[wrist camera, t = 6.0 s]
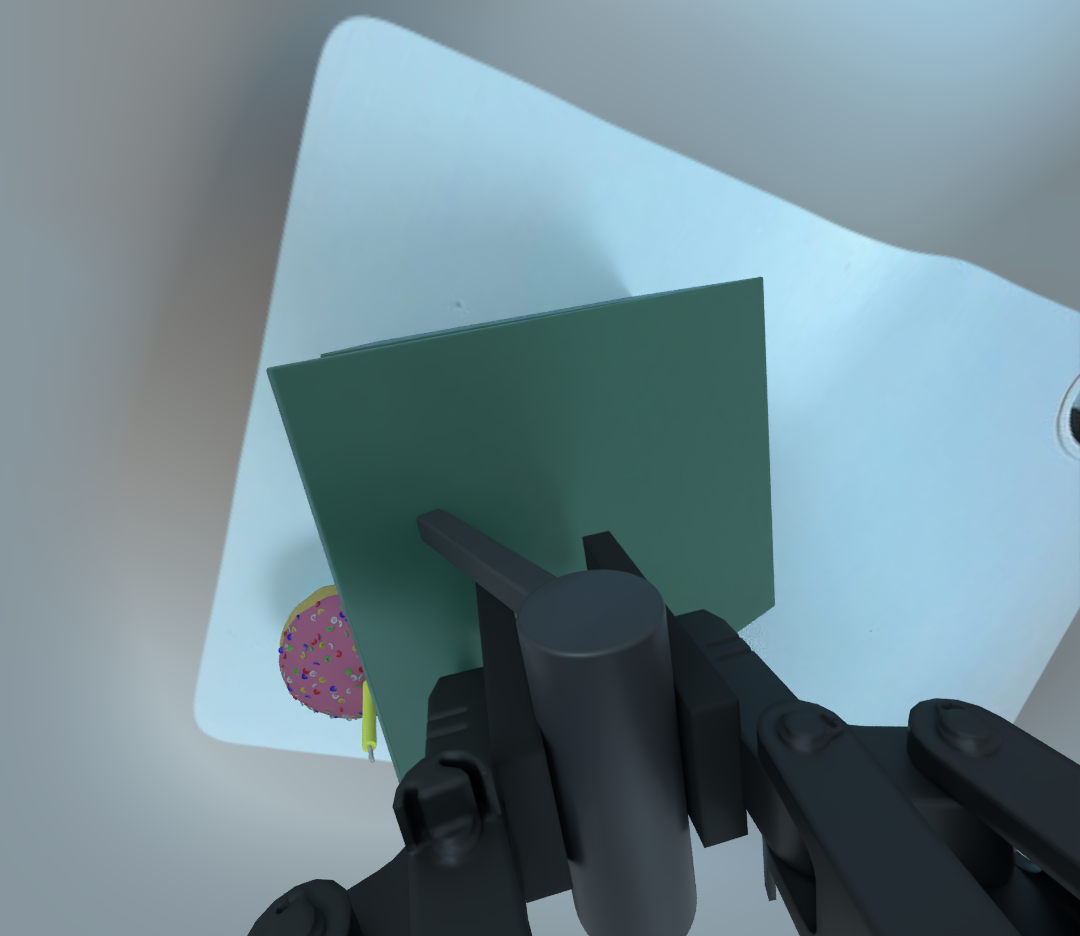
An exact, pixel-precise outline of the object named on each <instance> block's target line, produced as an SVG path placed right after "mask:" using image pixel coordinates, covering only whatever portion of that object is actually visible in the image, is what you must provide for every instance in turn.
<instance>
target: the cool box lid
mask: <svg viewBox="0 0 1080 936" xmlns="http://www.w3.org/2000/svg"><path fill="white" fill-rule="evenodd" d="M267 374H268V377H269V380H270V383H271V387H272V390H273V393H274V396H275V399H276V402H277V405H278V408H279V411H280V415H281V418H282V421H283V424H284V427H285V430H286V433H287V436H288V439H289V442H290V446H291V449H292V452H293V455H294V458H295V461H296V464H297V467H298V470H299V473H300V477H301V480H302V483H303V486H304V489H305V492H306V495H307V498H308V501H309V504H310V508H311V511H312V514H313V517H314V520H315V523H316V526H317V529H318V532H319V536H320V539H321V542H322V545H323V548H324V551H325V554H326V557H327V560H328V563H329V567H330V570H331V573H332V576H333V579H334V582H335V585H336V588H337V591H338V594H339V598H340V601H341V604H342V607H343V610H344V613H345V616H346V619H347V622H348V626H349V629H350V632H351V635H352V638H353V641H354V644H355V647H356V650H357V653H358V657H359V660H360V663H361V666H362V669H363V672H364V675H365V678H366V681H367V684H368V688H369V691H370V694H371V697H372V700H373V703H374V706H375V709H376V712H377V716H378V719H379V722H380V725H381V728H382V731H383V734H384V737H385V740H386V743H387V747H388V750H389V753H390V756H391V759H392V762H393V765H394V768H395V771H396V774H397V778H398V780H399V784H400V782H401V781H402V779H403V778H404V776H405V774H406V773H407V772H408V771H409V770H410V769H411V768H412V767H413V766H415V765H416V764H417V763H418V762H419V761H420V760H421V759H423V758H425V747H426V740H427V737H426V730H427V722H428V719H427V714H428V697H429V696H430V694H431V692H432V690H433V688H434V687H435V685H436V683H437V681H438V679H439V678H440V677H443V676H447V675H451V674H455V673H459V672H463V671H467V670H471V669H475V668H479V667H483V660H482V649H481V638H480V628H479V617H478V607H477V596H476V585H475V582H477V583H478V584H479V585H480V586H482V587H483V588H484V589H486V590H487V591H488V592H489V593H491V594H492V595H493V596H495V597H496V598H497V599H498V600H500V601H501V602H502V603H504V604H505V605H506V606H507V607H509V608H510V609H511V610H513V611H514V614H515V618H516V627H517V632H518V637H519V642H520V646H521V651H522V656H523V661H524V666H525V670H526V675H527V680H528V685H529V689H530V694H531V699H532V704H533V708H534V713H535V717H536V720H537V723H538V724H539V727H540V731H541V736H542V741H543V745H544V750H545V754H546V759H547V764H548V769H549V773H550V778H551V783H552V788H553V792H554V797H555V802H556V807H557V812H558V816H559V821H560V826H561V831H562V836H563V840H564V845H565V850H566V855H567V859H568V864H569V869H570V874H571V879H572V883H573V888H574V889H571V890H572V894H573V899H574V904H575V908H576V911H577V915H578V917H579V920H580V922H581V924H582V926H583V927H584V929H585V931H586V932H587V934H588V935H589V936H686V935H687V933H688V931H689V930H690V928H691V925H692V923H693V920H694V916H695V912H696V904H697V897H696V884H695V875H694V866H693V856H692V847H691V838H690V829H689V821H688V810H687V801H686V792H685V782H684V773H683V764H682V755H681V745H680V736H679V727H678V718H677V709H676V699H675V690H674V681H673V672H672V662H671V653H670V644H669V635H668V625H667V616H666V607H665V604H666V605H667V606H668V608H669V609H670V610H671V612H672V613H673V614H674V616H677V615H681V614H685V613H689V612H693V611H697V610H701V609H705V610H707V611H709V612H711V613H712V614H714V615H716V616H718V617H720V618H722V619H724V620H725V621H726V622H727V623H728V624H729V625H730V626H731V627H732V628H733V629H734V630H735V632H736V633H737V632H738V631H740V630H741V629H743V628H744V627H745V626H747V625H748V624H750V623H751V622H752V621H754V620H755V619H757V618H758V617H759V616H761V615H762V614H764V613H765V612H766V611H768V610H769V609H771V608H772V607H774V605H775V597H774V569H773V542H772V514H771V486H770V458H769V430H768V402H767V374H766V346H765V318H764V290H763V277H758V278H751V279H745V280H740V281H735V282H729V283H724V284H718V285H713V286H707V287H702V288H697V289H691V290H686V291H680V292H675V293H670V294H664V295H659V296H653V297H648V298H643V299H637V300H632V301H626V302H621V303H616V304H610V305H605V306H599V307H594V308H589V309H583V310H578V311H572V312H567V313H561V314H556V315H551V316H545V317H540V318H534V319H529V320H524V321H518V322H513V323H507V324H502V325H497V326H491V327H486V328H480V329H475V330H470V331H464V332H459V333H453V334H448V335H443V336H437V337H432V338H426V339H421V340H415V341H410V342H405V343H399V344H394V345H388V346H383V347H378V348H372V349H367V350H361V351H356V352H351V353H345V354H340V355H334V356H329V357H324V358H318V359H313V360H307V361H302V362H297V363H291V364H286V365H280V366H275V367H269V368H267ZM605 531H610V532H611V534H612V535H613V536H614V538H615V539H616V540H617V542H618V543H619V544H620V545H621V547H622V548H623V549H624V551H625V552H626V553H627V555H628V556H629V557H630V558H631V560H632V561H633V562H634V564H635V565H636V566H637V568H638V569H639V570H640V571H641V573H642V574H643V575H644V577H645V578H646V579H647V580H645V579H644V578H642V577H639V576H637V575H634V574H631V573H628V572H623V571H616V570H587V565H586V559H585V552H584V546H583V540H582V537H583V536H588V535H592V534H596V533H601V532H605Z"/></svg>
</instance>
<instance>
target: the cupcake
mask: <svg viewBox="0 0 1080 936" xmlns="http://www.w3.org/2000/svg"><path fill="white" fill-rule="evenodd" d="M279 653H280V656H279V666H280V671H281V674H282V677H283V679H284V681H285V684H286V686H287V688H288V690H289V692H290V694H291V695H292V696H293V698H294V699H295V700H297V699H298V700H299V701H300V702H301V704H302V706H303V703H304V705H306V706H307V707H308V708H309V709H311V710H313V712H314V713H315V712H317V713H318V712H321V713H324V714H327V715H330V718H331V719H333V718H346V719H347V720H348V721H351V719H355V720H357V718H363V723H362V748H363V750H364V751H365V752H369V760H370V762H372V763H373V762H374V761H375V760H374V757H373V750H374V749H375V748H376V745H377V742H376V716H377V712H376V709H375V706H374V703H373V700H372V697H371V694H370V691H369V688H368V684H367V681H366V678H365V675H364V672H363V669H362V666H361V663H360V660H359V657H358V653H357V650H356V647H355V644H354V641H353V638H352V635H351V632H350V629H349V626H348V622H347V619H346V616H345V613H344V610H343V607H342V604H341V601H340V598H339V594H338V591H337V588H336V585H330V586H326V587H323V588H320V589H318V590H317V591H315V592H314V593H313V594H312V595H311V596H309V597H308V598H307V599H306V600H304V601H303V602H302V603H300V604H299V605H298V606H297V607H296V608H295V609H294V610H293V611H292V613H291V614H290V616H289V618H288V620H287V622H286V624H285V626H284V629H283V631H282V635H281V639H280V648H279ZM302 702H303V703H302ZM310 707H311V708H310ZM332 716H333V717H332Z"/></svg>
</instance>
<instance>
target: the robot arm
mask: <svg viewBox="0 0 1080 936" xmlns="http://www.w3.org/2000/svg"><path fill="white" fill-rule="evenodd" d="M582 540H583V546H584V552H585V559H586V565H587V570H616V571H623V572H628V573H631V574H634V575H637V576H639V577H642V578H644V579H645V580H647V579H646V578H645V577H644V575H643V574H642V573H641V571H640V570H639V569H638V568H637V566H636V565H635V564H634V562H633V561H632V560H631V558H630V557H629V556H628V555H627V553H626V552H625V551H624V549H623V548H622V547H621V545H620V544H619V543H618V542H617V540H616V539H615V538H614V536H613V535H612V534H611V532H610V531H605V532H601V533H596V534H592V535H588V536H583V537H582ZM475 585H476V596H477V607H478V617H479V628H480V638H481V649H482V660H483V667H479V668H475V669H471V670H467V671H463V672H459V673H455V674H451V675H447V676H443V677H440V678H439V679H438V681H437V683H436V685H435V687H434V688H433V690H432V692H431V694H430V696H429V697H428V714H427V719H428V722H427V730H426V737H427V740H426V747H425V758H423V759H421V760H420V761H419V762H418V763H417V764H416V765H415V766H413V767H412V768H411V769H410V770H409V771H408V772H407V773H406V774H405V776H404V778H403V779H402V781H401V782H400V784H399V786H398V787H397V789H396V793H395V798H394V803H393V809H394V812H395V815H396V818H397V821H398V824H399V827H400V830H401V833H402V836H403V839H404V842H405V845H406V846H405V847H404V848H403V849H402V851H401V852H400V853H399V854H398V855H397V856H396V857H395V858H394V859H393V860H392V861H391V862H389V863H388V864H386V865H385V866H384V867H382V868H381V869H380V870H378V871H377V872H375V873H374V874H372V875H370V876H369V877H367V878H366V879H364V880H362V881H361V882H359V883H358V884H356V885H355V886H353V887H351V888H350V889H348V890H346V889H345V888H343V887H342V886H341V885H339V884H338V883H336V882H335V881H334V880H322V879H315V880H312V881H309V882H306V883H303V884H300V885H298V886H295V887H294V888H292V889H291V890H290V891H288V892H287V893H285V894H284V895H282V896H281V897H279V898H278V899H276V900H275V901H274V902H273V903H272V904H271V905H270V906H269V908H268V909H267V910H266V911H265V912H264V913H263V914H262V915H261V916H260V917H259V918H258V919H257V921H256V922H255V923H254V925H253V927H252V929H251V930H250V932H249V934H248V936H532V933H531V929H530V925H529V921H528V915H527V907H526V902H527V903H528V902H532V901H535V900H538V899H541V898H544V897H547V896H551V895H554V894H557V893H561V892H563V891H567V890H570V889H574V888H573V883H572V879H571V874H570V869H569V864H568V859H567V855H566V850H565V845H564V840H563V836H562V831H561V826H560V821H559V816H558V812H557V807H556V802H555V797H554V792H553V788H552V783H551V778H550V773H549V769H548V764H547V759H546V754H545V750H544V745H543V741H542V736H541V731H540V727H539V724H538V723H537V720H536V717H535V713H534V708H533V704H532V699H531V694H530V689H529V685H528V680H527V675H526V670H525V666H524V661H523V656H522V651H521V646H520V642H519V637H518V632H517V627H516V618H515V614H514V611H513V610H511V609H510V608H509V607H507V606H506V605H505V604H504V603H502V602H501V601H500V600H498V599H497V598H496V597H495V596H493V595H492V594H491V593H489V592H488V591H487V590H486V589H484V588H483V587H482V586H480V585H479V584H478V583H477V582H475ZM665 607H666V616H667V625H668V635H669V644H670V653H671V662H672V672H673V681H674V690H675V699H676V709H677V718H678V727H679V736H680V745H681V755H682V764H683V773H684V782H685V792H686V801H687V810H688V815H689V817H690V819H691V821H692V823H693V825H694V827H695V829H696V831H697V833H698V835H699V837H700V839H701V842H702V843H703V846H704V848H706V847H709V846H713V845H716V844H719V843H723V842H726V841H729V840H732V839H735V838H739V837H742V836H745V835H748V828H747V812H746V809H747V811H748V813H749V814H750V816H751V817H752V819H753V821H754V822H755V824H756V826H757V827H758V829H759V831H760V832H761V834H762V839H763V856H764V876H765V887H766V891H767V895H768V898H769V901H771V900H776V887H775V884H776V886H777V888H778V890H779V892H780V894H781V897H782V899H783V901H784V903H785V905H786V907H787V909H788V911H789V913H790V916H791V918H792V920H793V922H794V924H795V927H796V929H797V931H798V933H799V935H800V936H1080V765H1079V764H1077V763H1076V762H1074V761H1072V760H1070V759H1069V758H1067V757H1066V756H1064V755H1062V754H1061V753H1059V752H1057V751H1056V750H1054V749H1053V748H1051V747H1049V746H1048V745H1046V744H1045V743H1043V742H1041V741H1040V740H1038V739H1036V738H1035V737H1033V736H1031V735H1030V734H1028V733H1026V732H1025V731H1023V730H1022V729H1020V728H1018V727H1017V726H1015V725H1014V724H1012V723H1010V722H1009V721H1007V720H1005V719H1004V718H1002V717H1000V716H998V715H996V714H994V713H992V712H990V711H988V710H986V709H984V708H982V707H980V706H977V705H974V704H970V703H966V702H963V701H959V700H954V699H939V698H935V699H931V700H926V701H921V702H919V703H918V704H917V705H915V706H914V707H913V708H912V709H911V710H910V714H909V720H908V727H894V726H857V725H848V724H847V723H845V722H844V721H843V720H842V719H841V718H840V717H839V716H838V715H836V714H835V713H834V712H832V711H830V710H828V709H826V708H824V707H822V706H820V705H818V704H815V703H810V702H806V701H802V700H799V699H798V698H797V697H796V696H795V695H794V694H793V693H792V692H791V691H790V690H789V689H788V687H787V686H786V685H785V684H784V683H783V682H782V681H781V680H780V679H779V678H778V677H777V676H776V675H775V674H774V672H773V671H772V670H771V669H770V668H769V667H768V666H767V665H766V664H765V663H764V662H763V661H762V660H761V658H760V657H759V656H758V655H757V654H756V653H755V652H754V651H751V648H750V647H749V646H748V644H747V643H746V642H745V641H744V640H743V639H742V638H739V635H738V634H737V633H736V632H735V630H734V629H733V628H732V627H731V626H730V625H729V624H728V623H727V622H726V621H725V620H724V619H722V618H720V617H718V616H716V615H714V614H712V613H711V612H709V611H707V610H705V609H701V610H697V611H693V612H689V613H685V614H681V615H677V616H674V614H673V613H672V612H671V610H670V609H669V608H668V606H667V605H666V604H665ZM1017 850H1019V851H1020V852H1021V853H1022V854H1023V855H1025V856H1026V857H1027V858H1028V859H1027V858H1026V857H1024V856H1023V855H1022V854H1020V853H1019V852H1018V851H1017ZM1029 859H1030V860H1031V861H1030V860H1029Z"/></svg>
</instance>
